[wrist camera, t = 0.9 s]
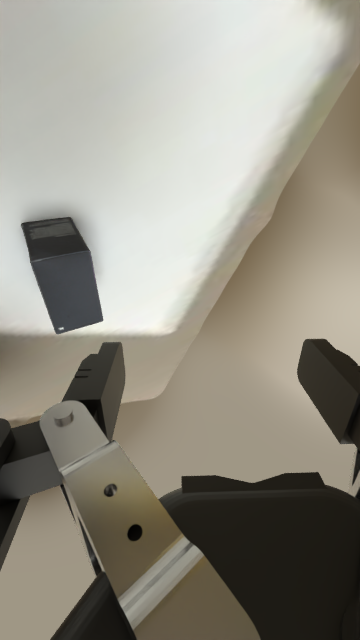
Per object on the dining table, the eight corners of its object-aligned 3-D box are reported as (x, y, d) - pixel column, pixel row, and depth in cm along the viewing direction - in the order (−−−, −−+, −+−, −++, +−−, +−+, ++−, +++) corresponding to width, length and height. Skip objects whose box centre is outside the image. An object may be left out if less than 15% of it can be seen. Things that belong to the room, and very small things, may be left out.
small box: (87, 282, 43) (106, 322, 36) (43, 291, 41) (54, 337, 34) (73, 215, 36) (93, 250, 29) (19, 222, 34) (26, 262, 27)
